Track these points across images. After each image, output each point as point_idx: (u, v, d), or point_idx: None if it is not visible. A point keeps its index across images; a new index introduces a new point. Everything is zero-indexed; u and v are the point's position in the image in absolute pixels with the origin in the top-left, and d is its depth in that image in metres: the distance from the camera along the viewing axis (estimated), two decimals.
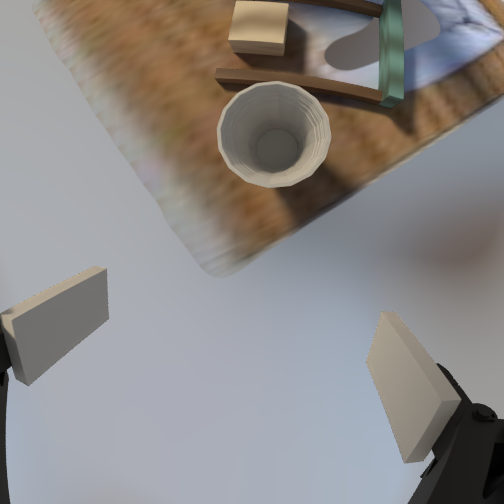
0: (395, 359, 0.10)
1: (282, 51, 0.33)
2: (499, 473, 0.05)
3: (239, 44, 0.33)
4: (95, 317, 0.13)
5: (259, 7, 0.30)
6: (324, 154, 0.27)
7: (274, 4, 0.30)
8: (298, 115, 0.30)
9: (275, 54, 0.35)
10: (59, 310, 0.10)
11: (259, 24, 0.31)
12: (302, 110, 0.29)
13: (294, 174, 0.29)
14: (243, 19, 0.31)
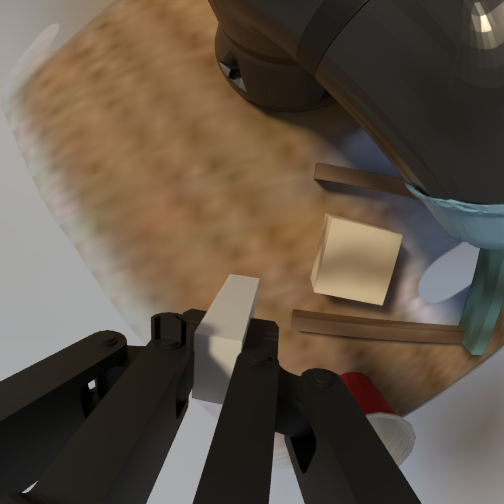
0: None
1: None
2: (315, 439, 0.07)
3: None
4: None
5: (364, 238, 0.26)
6: (401, 462, 0.23)
7: (384, 235, 0.26)
8: (385, 404, 0.27)
9: None
10: None
11: (358, 272, 0.27)
12: (392, 413, 0.25)
13: None
14: (338, 259, 0.27)
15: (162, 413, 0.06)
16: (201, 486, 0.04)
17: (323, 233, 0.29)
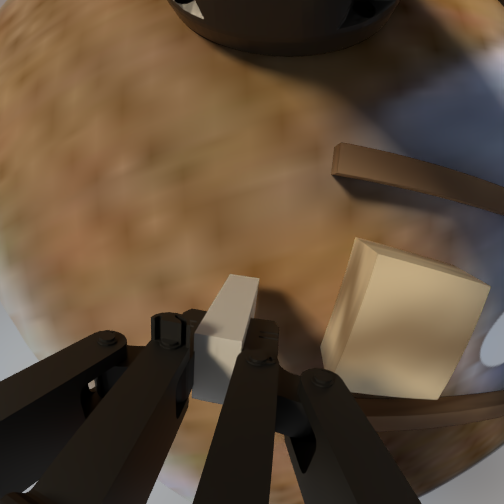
0: None
1: None
2: (315, 439, 0.07)
3: None
4: None
5: (430, 295, 0.12)
6: None
7: (464, 287, 0.12)
8: None
9: None
10: None
11: (412, 354, 0.13)
12: None
13: None
14: (380, 333, 0.13)
15: (162, 413, 0.06)
16: (201, 486, 0.04)
17: (350, 276, 0.15)
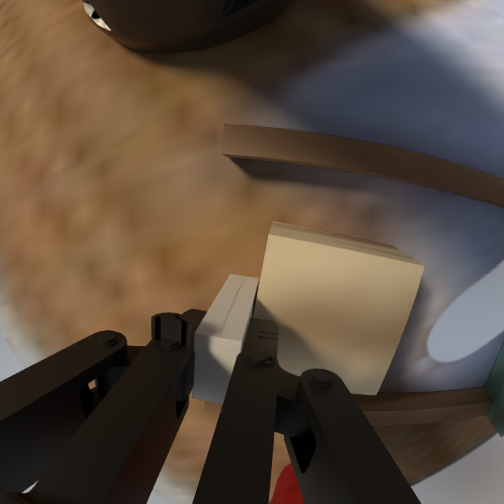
0: None
1: None
2: (315, 439, 0.07)
3: None
4: None
5: (341, 276, 0.12)
6: None
7: (386, 267, 0.12)
8: None
9: None
10: None
11: (330, 343, 0.13)
12: None
13: None
14: (287, 320, 0.13)
15: (162, 413, 0.06)
16: (201, 486, 0.04)
17: None
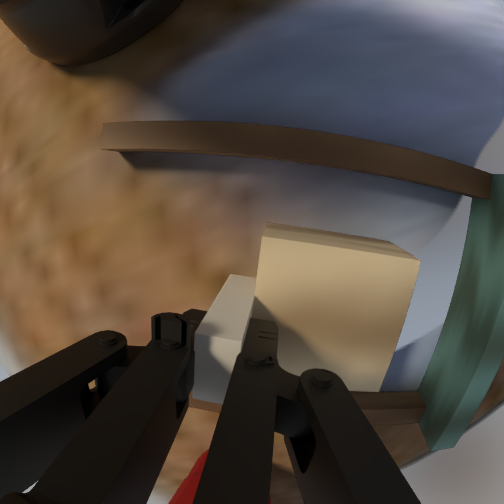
0: None
1: None
2: (315, 439, 0.07)
3: None
4: None
5: (337, 275, 0.12)
6: None
7: (382, 264, 0.12)
8: None
9: None
10: None
11: (329, 342, 0.13)
12: None
13: None
14: (284, 320, 0.13)
15: (162, 413, 0.06)
16: (201, 486, 0.04)
17: None
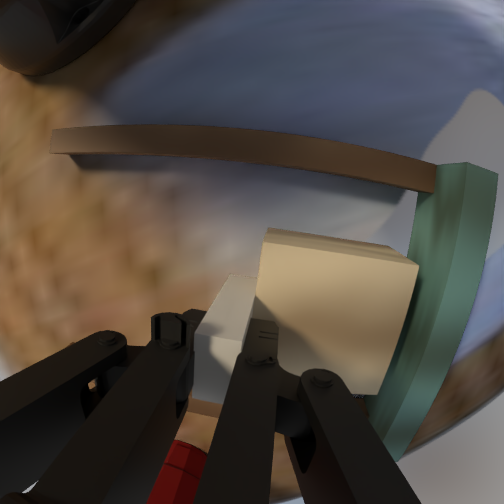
0: None
1: None
2: (315, 439, 0.07)
3: None
4: None
5: (336, 280, 0.12)
6: None
7: (381, 269, 0.12)
8: None
9: None
10: None
11: (328, 346, 0.13)
12: None
13: None
14: (284, 324, 0.13)
15: (162, 413, 0.06)
16: (201, 486, 0.04)
17: None
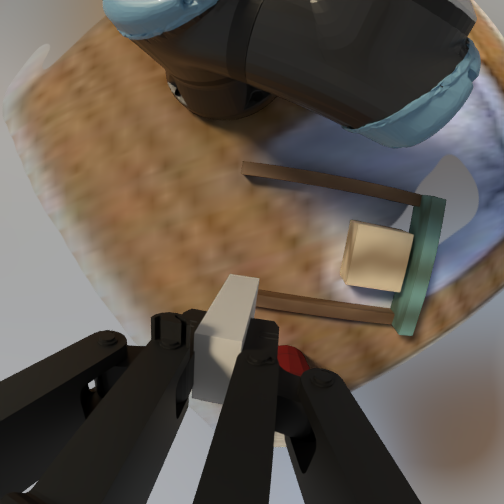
0: None
1: None
2: (315, 439, 0.07)
3: None
4: None
5: (383, 239, 0.32)
6: None
7: (399, 235, 0.32)
8: None
9: None
10: None
11: (380, 266, 0.32)
12: None
13: None
14: (364, 256, 0.32)
15: (162, 413, 0.06)
16: (201, 486, 0.04)
17: (349, 236, 0.35)
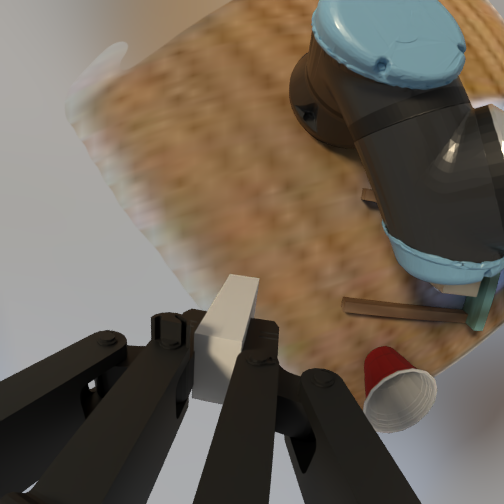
0: None
1: None
2: (315, 439, 0.07)
3: None
4: None
5: None
6: (427, 411, 0.32)
7: None
8: (412, 367, 0.36)
9: None
10: None
11: None
12: (419, 372, 0.34)
13: (403, 415, 0.35)
14: None
15: (162, 413, 0.06)
16: (201, 486, 0.04)
17: None
